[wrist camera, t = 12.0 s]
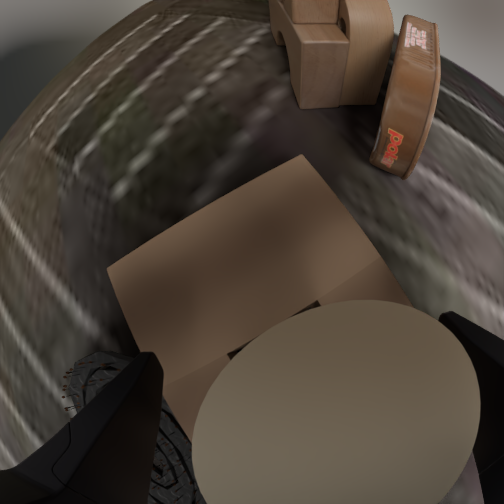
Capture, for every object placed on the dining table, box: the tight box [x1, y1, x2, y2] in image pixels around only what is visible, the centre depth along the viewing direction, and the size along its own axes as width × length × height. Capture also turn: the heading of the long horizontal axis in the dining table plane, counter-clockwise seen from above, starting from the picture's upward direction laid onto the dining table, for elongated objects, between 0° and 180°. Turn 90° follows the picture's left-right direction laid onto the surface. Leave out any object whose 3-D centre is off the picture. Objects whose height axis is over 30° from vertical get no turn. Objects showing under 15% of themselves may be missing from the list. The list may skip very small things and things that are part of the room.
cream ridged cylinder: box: [192, 300, 481, 504], centre depth 8 cm, size 4×4×12 cm
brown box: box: [107, 154, 414, 443], centre depth 13 cm, size 18×12×3 cm, turn 30°
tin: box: [369, 15, 441, 180], centre depth 15 cm, size 15×3×8 cm, turn 153°
